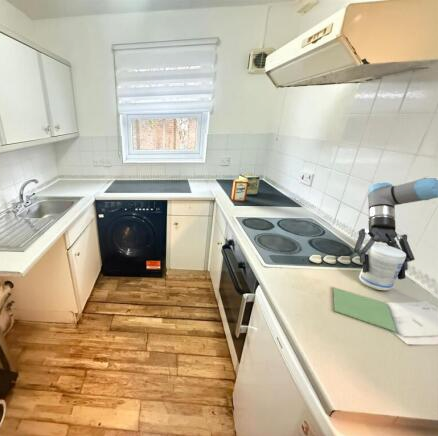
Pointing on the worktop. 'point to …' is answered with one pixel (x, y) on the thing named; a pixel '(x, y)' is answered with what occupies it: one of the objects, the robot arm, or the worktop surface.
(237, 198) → the baking soda box
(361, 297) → the mat
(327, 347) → the worktop surface
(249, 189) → the protein box
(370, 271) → the supplement tub
